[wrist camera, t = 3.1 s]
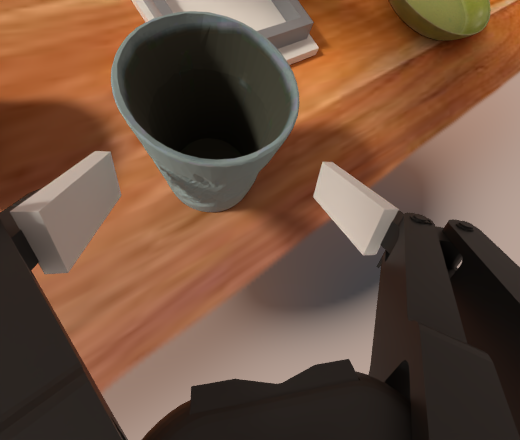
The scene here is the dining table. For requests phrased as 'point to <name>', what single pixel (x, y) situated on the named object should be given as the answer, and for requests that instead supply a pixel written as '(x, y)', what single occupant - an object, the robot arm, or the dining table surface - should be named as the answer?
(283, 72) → the blue-grey cup
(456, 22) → the saucer
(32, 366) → the robot arm
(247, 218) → the dining table surface
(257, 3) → the tray
